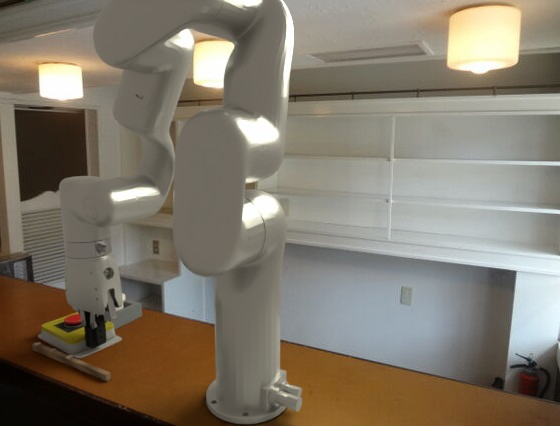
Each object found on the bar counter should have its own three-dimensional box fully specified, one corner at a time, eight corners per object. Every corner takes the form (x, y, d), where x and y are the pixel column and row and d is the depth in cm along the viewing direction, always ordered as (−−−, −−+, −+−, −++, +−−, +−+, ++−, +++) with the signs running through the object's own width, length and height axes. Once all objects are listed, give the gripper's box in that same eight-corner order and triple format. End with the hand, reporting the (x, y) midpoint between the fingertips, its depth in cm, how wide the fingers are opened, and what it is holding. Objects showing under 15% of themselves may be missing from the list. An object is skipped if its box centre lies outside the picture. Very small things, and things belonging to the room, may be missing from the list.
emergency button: (79, 302, 93) (122, 320, 84) (80, 322, 94) (124, 341, 85) (33, 317, 85) (76, 339, 77) (36, 338, 86) (78, 362, 78)
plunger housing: (142, 316, 95) (141, 303, 94) (111, 331, 88) (110, 316, 88) (116, 308, 99) (115, 296, 98) (85, 322, 92) (84, 308, 92)
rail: (111, 379, 72) (110, 371, 71) (106, 381, 71) (106, 373, 70) (37, 348, 81) (36, 341, 81) (32, 350, 81) (32, 343, 80)
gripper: (135, 248, 76) (141, 346, 80) (79, 237, 84) (87, 327, 87) (98, 259, 70) (107, 365, 74) (42, 246, 77) (52, 343, 81)
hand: (96, 344), depth 80 cm, fingers closed
